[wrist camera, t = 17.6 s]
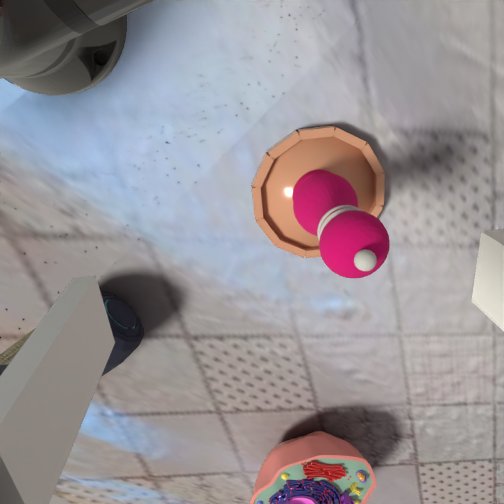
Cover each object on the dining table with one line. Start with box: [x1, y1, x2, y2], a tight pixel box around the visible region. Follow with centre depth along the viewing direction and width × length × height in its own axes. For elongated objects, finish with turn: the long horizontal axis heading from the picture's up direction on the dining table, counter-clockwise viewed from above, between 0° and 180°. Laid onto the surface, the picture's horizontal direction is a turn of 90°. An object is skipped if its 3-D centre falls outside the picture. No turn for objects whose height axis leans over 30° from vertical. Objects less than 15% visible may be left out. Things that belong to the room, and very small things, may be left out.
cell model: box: [250, 431, 376, 504], centre depth 64 cm, size 17×20×11 cm
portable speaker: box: [0, 292, 144, 376], centre depth 53 cm, size 25×10×10 cm, turn 126°
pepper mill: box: [292, 170, 389, 278], centre depth 41 cm, size 7×7×20 cm
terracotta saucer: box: [251, 126, 385, 258], centre depth 50 cm, size 16×16×2 cm
